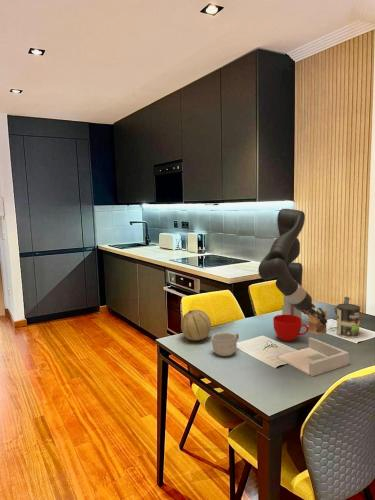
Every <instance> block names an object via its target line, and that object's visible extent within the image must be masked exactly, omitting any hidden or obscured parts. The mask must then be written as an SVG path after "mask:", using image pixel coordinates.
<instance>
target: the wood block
mask: <svg viewBox="0 0 375 500" xmlns="http://www.w3.org/2000/svg"><path fill="white" fill-rule="evenodd" d="M319 308H320V307H318V308H317V309H319ZM322 310H323V312H324V314H325V315H326V316H325V319H326V320H327V317H328V316H327V314H328V313H327V312H328V311H327V310H324V309H322ZM327 321H328V320H327ZM308 328H309V330H308V332H309V333H312V334H314V335H322V334H326V333H327V323H326V324H325V325H323V324H322V323H321V322H320V321H319V320H318V319H317V318H316V317H313V316H312V315H310V314H309V316H308Z"/></svg>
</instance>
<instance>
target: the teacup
mask: <svg viewBox="0 0 375 500" xmlns="http://www.w3.org/2000/svg"><path fill="white" fill-rule="evenodd" d="M239 338H240V335H239V333H237V332H234V333H232V332H219V333H215V334H212V336H211V342H212V350H213V351H214V353H215V354H216V355H218V356H220V357H230V356H232V355H233V354H234V353H235V352H236V351H237V348H238V347H237V343H238V341H239Z"/></svg>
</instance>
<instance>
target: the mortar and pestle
mask: <svg viewBox="0 0 375 500" xmlns="http://www.w3.org/2000/svg"><path fill="white" fill-rule="evenodd" d="M343 299H344V300H343V304H350V300H351V299H350V297H348V296H344V297H343ZM334 314H335V315H336V316H337V305H336V306H334Z"/></svg>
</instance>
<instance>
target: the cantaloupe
mask: <svg viewBox="0 0 375 500" xmlns="http://www.w3.org/2000/svg"><path fill="white" fill-rule="evenodd" d="M180 329H181V332H182V334H183V335H184V336H185V338H187V339H188V340H191V341H201V340H204V339H205V338H206V337H208V335H210V332H211V330H212V321H211V319H210V317H209V315H208V314H207V313H206V312H205V311H203V310H201V309H192V310H191V309H190V310H189V311H187V312H186V313H185V314H184V315H183V316H182V319H181V321H180Z"/></svg>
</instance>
